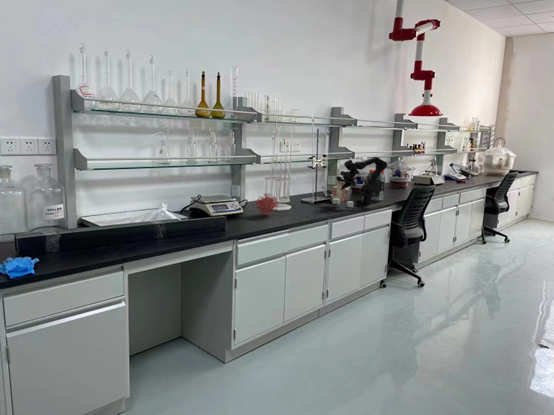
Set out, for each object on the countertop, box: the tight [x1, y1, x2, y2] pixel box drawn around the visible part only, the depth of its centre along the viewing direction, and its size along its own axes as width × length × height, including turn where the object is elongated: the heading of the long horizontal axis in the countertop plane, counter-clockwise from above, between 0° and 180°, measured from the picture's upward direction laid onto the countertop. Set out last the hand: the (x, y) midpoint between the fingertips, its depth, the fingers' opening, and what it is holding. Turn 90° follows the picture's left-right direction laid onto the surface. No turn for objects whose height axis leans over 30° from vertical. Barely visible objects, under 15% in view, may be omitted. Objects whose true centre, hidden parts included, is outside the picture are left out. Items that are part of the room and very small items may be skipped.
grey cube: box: [346, 200, 354, 208], centre depth 326 cm, size 4×4×4 cm
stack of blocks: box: [331, 185, 351, 203], centre depth 353 cm, size 21×6×12 cm, turn 145°
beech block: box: [336, 181, 345, 198], centre depth 326 cm, size 4×4×12 cm
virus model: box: [255, 193, 279, 216], centre depth 279 cm, size 15×15×15 cm
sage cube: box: [331, 198, 341, 205], centre depth 337 cm, size 5×5×4 cm
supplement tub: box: [365, 168, 386, 202], centre depth 364 cm, size 16×16×26 cm
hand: (339, 188), depth 325 cm, fingers closed on beech block, 4 cm apart
